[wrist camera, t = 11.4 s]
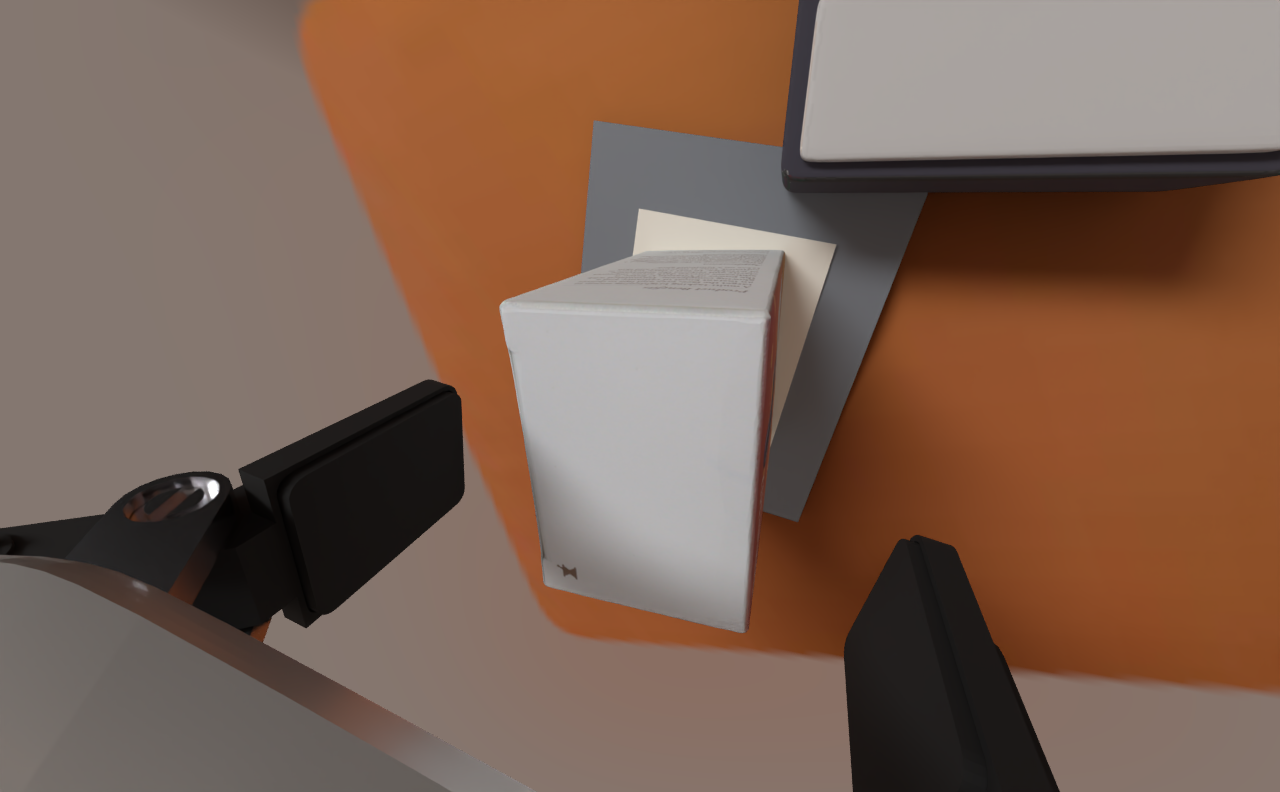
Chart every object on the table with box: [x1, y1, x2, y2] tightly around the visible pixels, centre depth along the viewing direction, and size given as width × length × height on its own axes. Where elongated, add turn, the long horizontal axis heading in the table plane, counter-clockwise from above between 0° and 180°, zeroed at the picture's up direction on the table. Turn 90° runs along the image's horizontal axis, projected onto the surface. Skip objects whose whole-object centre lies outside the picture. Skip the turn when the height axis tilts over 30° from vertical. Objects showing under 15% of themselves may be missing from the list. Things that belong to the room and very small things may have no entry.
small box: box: [500, 250, 785, 633], centre depth 14 cm, size 8×6×10 cm
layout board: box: [581, 121, 928, 522], centre depth 19 cm, size 12×15×1 cm
